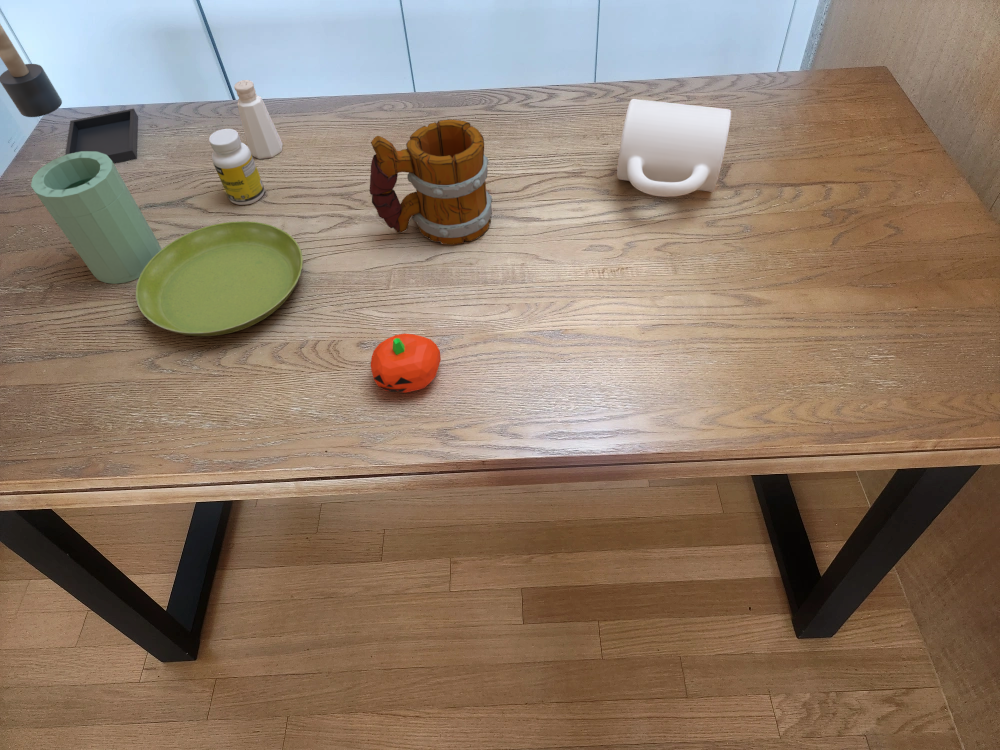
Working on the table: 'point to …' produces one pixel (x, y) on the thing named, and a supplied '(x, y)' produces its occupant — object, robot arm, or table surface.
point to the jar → (97, 215)
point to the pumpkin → (405, 363)
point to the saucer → (219, 278)
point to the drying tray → (106, 135)
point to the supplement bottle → (236, 167)
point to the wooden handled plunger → (26, 82)
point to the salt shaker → (257, 122)
